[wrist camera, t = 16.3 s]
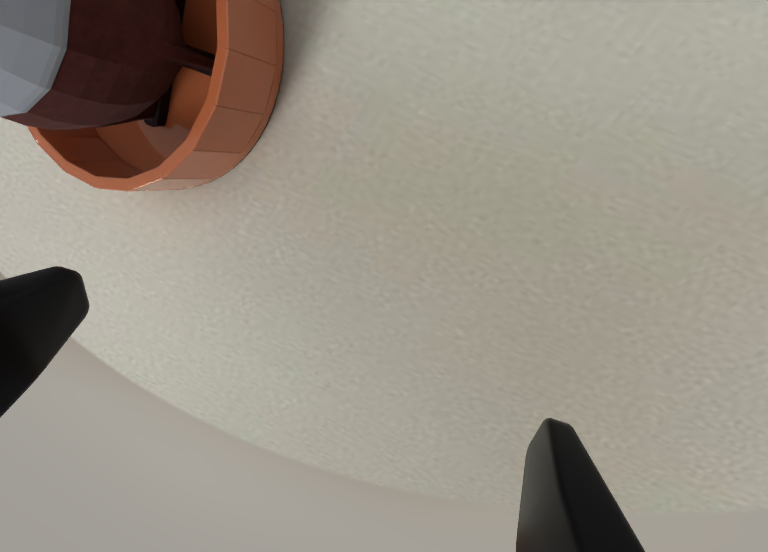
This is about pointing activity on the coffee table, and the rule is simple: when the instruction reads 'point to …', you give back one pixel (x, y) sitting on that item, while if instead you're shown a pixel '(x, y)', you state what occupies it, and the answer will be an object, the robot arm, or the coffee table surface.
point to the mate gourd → (92, 61)
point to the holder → (189, 108)
